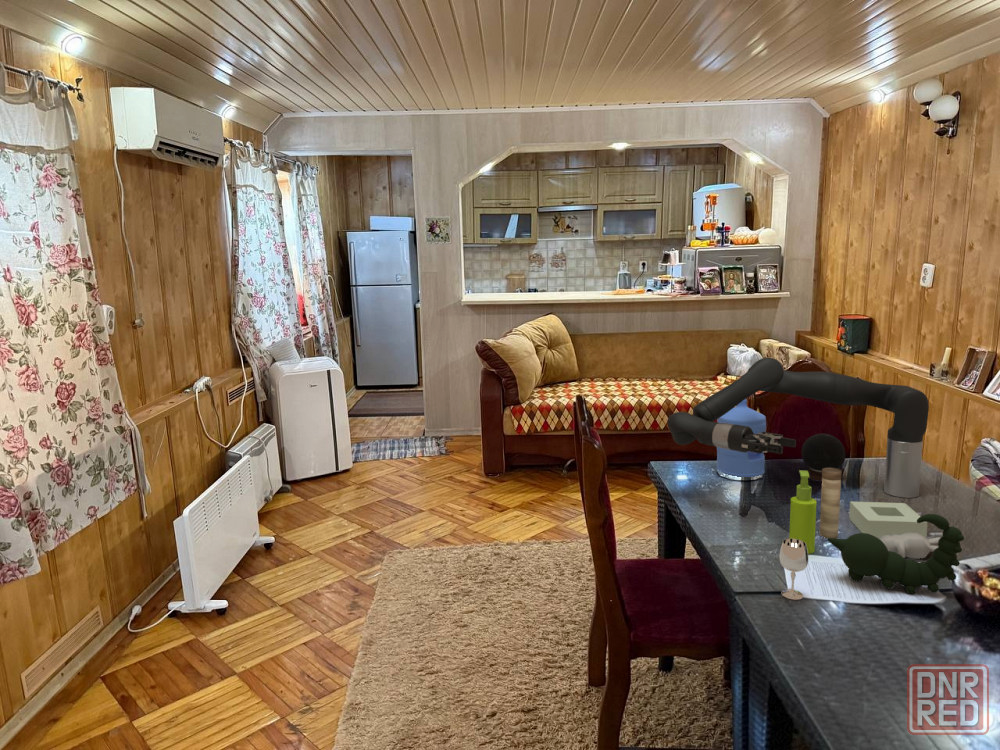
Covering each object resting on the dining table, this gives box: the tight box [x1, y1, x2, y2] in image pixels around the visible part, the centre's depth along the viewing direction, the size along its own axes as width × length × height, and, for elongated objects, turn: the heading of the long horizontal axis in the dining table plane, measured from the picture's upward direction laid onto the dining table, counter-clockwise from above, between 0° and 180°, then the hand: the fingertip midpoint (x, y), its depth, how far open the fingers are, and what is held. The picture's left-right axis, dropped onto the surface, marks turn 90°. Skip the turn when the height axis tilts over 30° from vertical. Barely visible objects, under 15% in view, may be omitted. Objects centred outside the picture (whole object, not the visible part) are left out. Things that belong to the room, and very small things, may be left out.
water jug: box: [715, 398, 767, 477], centre depth 223 cm, size 16×16×28 cm
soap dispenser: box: [788, 469, 818, 555], centre depth 165 cm, size 6×7×20 cm
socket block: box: [848, 501, 929, 539], centre depth 176 cm, size 14×14×5 cm
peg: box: [819, 468, 843, 539], centre depth 172 cm, size 4×4×18 cm
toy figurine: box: [826, 513, 965, 595], centre depth 145 cm, size 9×19×25 cm
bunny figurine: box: [879, 533, 941, 560], centre depth 160 cm, size 10×5×15 cm
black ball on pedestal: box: [801, 433, 846, 481], centre depth 219 cm, size 13×13×15 cm
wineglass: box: [778, 538, 809, 601], centre depth 143 cm, size 6×6×12 cm
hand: (789, 446), depth 178 cm, fingers open, 8 cm apart
